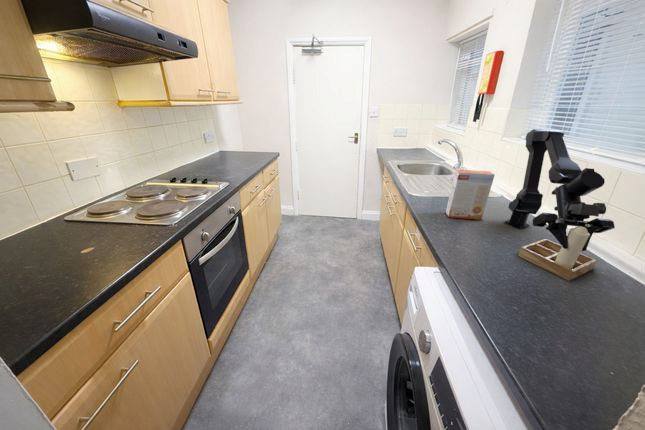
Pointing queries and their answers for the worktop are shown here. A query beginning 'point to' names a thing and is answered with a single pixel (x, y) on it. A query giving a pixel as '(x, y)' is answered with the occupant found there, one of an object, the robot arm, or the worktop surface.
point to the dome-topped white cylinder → (573, 247)
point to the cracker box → (469, 194)
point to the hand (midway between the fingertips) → (574, 249)
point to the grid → (546, 255)
